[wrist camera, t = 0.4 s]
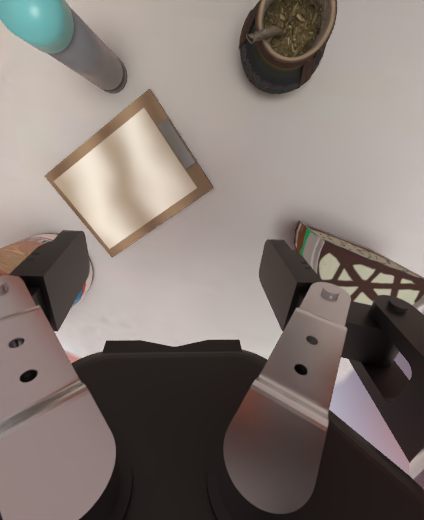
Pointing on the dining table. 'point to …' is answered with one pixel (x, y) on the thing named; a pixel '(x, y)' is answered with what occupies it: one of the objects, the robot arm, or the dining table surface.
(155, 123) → the clipboard
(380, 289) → the food container
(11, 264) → the fruit juice
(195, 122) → the dining table surface
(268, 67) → the mate gourd
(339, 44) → the dining table surface
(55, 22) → the ball
